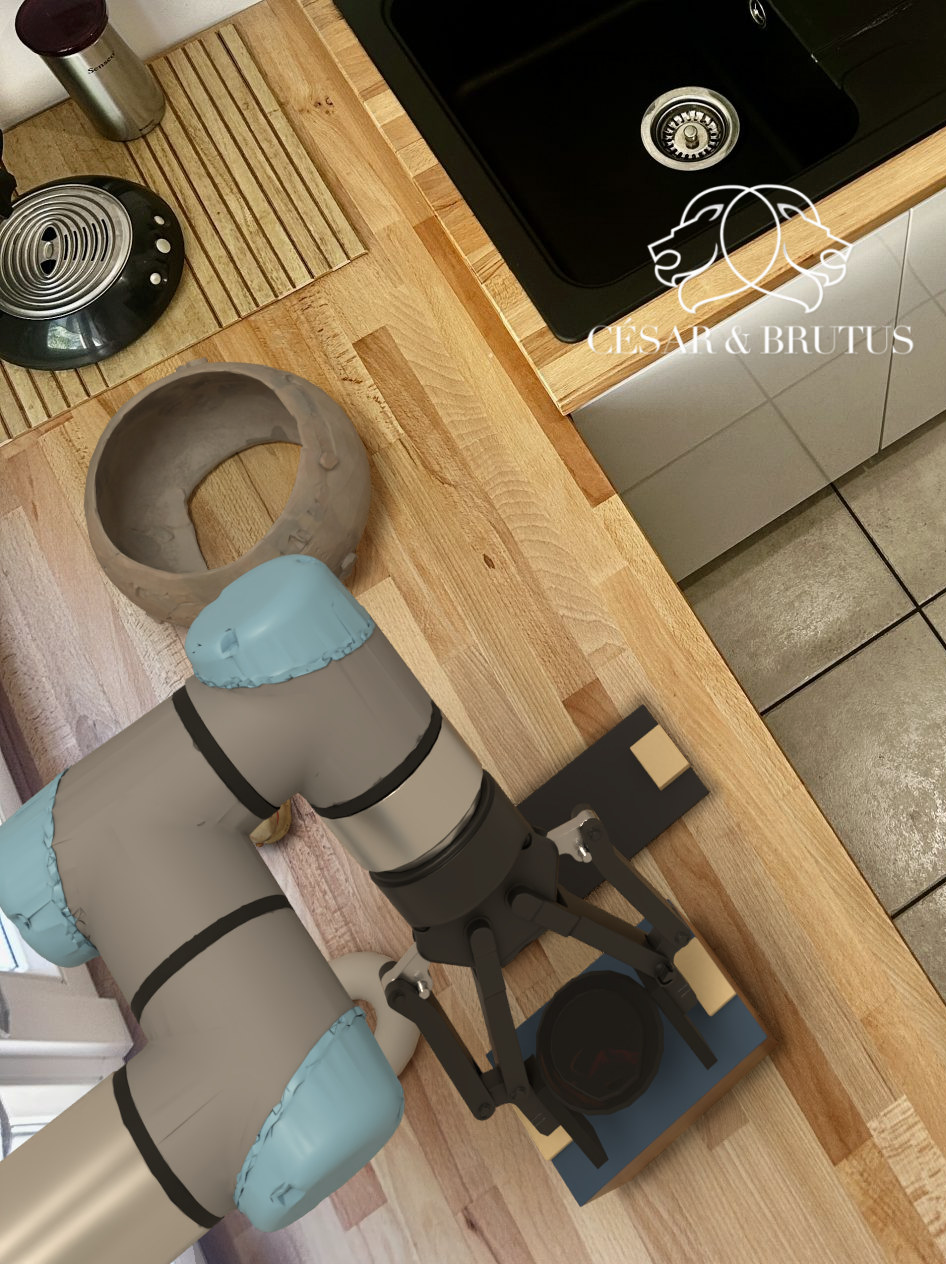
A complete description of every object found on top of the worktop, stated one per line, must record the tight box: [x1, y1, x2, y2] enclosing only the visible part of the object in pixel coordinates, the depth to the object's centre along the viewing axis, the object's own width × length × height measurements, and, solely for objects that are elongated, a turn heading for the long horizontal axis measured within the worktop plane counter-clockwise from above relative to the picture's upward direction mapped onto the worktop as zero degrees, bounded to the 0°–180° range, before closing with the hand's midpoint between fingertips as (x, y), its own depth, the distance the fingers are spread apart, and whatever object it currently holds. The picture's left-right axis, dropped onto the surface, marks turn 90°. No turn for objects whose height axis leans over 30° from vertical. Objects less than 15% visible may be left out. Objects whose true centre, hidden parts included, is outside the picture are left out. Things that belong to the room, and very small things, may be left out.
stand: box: [582, 902, 780, 1207], centre depth 101 cm, size 14×10×24 cm
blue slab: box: [485, 898, 767, 1208], centre depth 89 cm, size 14×10×2 cm
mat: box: [515, 703, 710, 954], centre depth 118 cm, size 20×9×2 cm, turn 129°
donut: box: [327, 950, 421, 1077], centre depth 112 cm, size 10×4×10 cm
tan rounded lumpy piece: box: [249, 798, 293, 848], centre depth 117 cm, size 6×8×10 cm
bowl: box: [83, 356, 372, 629], centre depth 126 cm, size 23×23×15 cm
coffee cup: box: [536, 970, 664, 1116], centre depth 83 cm, size 7×7×10 cm
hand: (649, 1098), depth 83 cm, fingers closed on coffee cup, 7 cm apart
